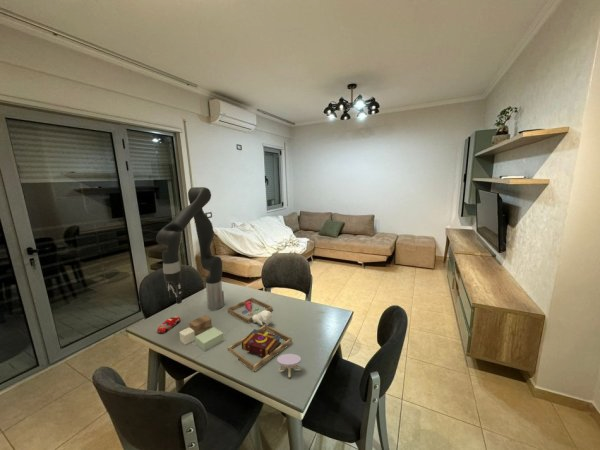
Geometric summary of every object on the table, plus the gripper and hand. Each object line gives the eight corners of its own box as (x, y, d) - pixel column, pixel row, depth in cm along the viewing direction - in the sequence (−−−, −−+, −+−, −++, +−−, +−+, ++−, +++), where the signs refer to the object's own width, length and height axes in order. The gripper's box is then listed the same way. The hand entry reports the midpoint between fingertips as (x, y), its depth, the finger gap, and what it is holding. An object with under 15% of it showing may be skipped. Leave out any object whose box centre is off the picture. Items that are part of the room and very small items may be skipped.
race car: (163, 335, 126) (162, 328, 125) (155, 333, 128) (154, 326, 127) (182, 321, 138) (181, 315, 138) (174, 319, 140) (174, 313, 139)
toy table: (274, 377, 98) (274, 365, 97) (280, 361, 107) (279, 350, 106) (298, 380, 96) (298, 368, 95) (302, 364, 105) (302, 352, 104)
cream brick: (190, 337, 123) (189, 327, 122) (195, 341, 120) (194, 330, 119) (180, 342, 119) (179, 331, 118) (185, 347, 116) (184, 335, 115)
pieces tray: (251, 300, 161) (251, 297, 161) (272, 310, 149) (272, 306, 148) (227, 312, 147) (227, 308, 147) (248, 324, 135) (248, 320, 134)
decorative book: (269, 359, 107) (269, 349, 106) (239, 350, 113) (238, 340, 112) (281, 344, 118) (281, 334, 117) (252, 336, 124) (252, 327, 123)
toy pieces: (237, 311, 149) (236, 304, 148) (252, 304, 157) (252, 298, 156) (247, 319, 140) (247, 312, 140) (263, 311, 148) (263, 305, 147)
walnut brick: (205, 325, 134) (204, 315, 133) (211, 329, 131) (210, 318, 130) (189, 332, 128) (188, 322, 126) (195, 337, 124) (194, 326, 123)
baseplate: (214, 333, 126) (214, 331, 126) (227, 343, 119) (227, 341, 119) (191, 345, 117) (191, 343, 117) (204, 356, 110) (204, 354, 110)
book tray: (265, 328, 130) (265, 324, 130) (291, 343, 119) (291, 338, 118) (227, 352, 112) (227, 347, 112) (254, 372, 101) (253, 366, 100)
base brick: (214, 334, 124) (214, 327, 123) (223, 340, 119) (223, 333, 118) (195, 344, 117) (195, 336, 116) (204, 351, 112) (203, 343, 111)
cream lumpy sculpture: (266, 314, 128) (248, 311, 133) (268, 329, 129) (250, 326, 135) (272, 309, 134) (255, 306, 139) (274, 323, 135) (256, 320, 140)
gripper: (186, 271, 118) (189, 302, 121) (174, 265, 128) (177, 293, 131) (169, 276, 113) (173, 308, 116) (158, 269, 122) (162, 298, 125)
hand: (175, 300), depth 123 cm, fingers open, 8 cm apart
